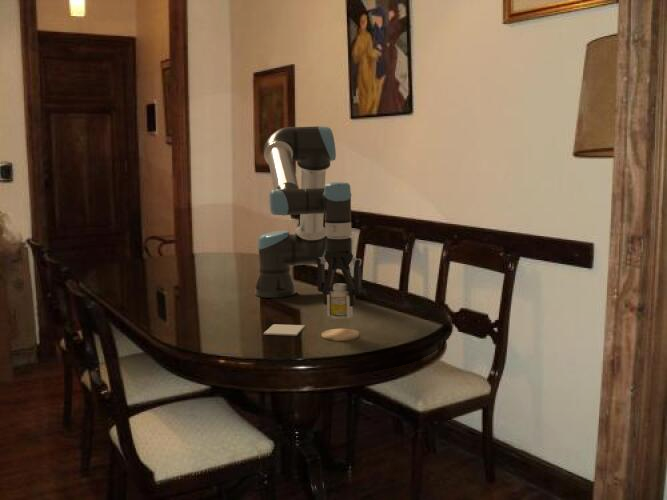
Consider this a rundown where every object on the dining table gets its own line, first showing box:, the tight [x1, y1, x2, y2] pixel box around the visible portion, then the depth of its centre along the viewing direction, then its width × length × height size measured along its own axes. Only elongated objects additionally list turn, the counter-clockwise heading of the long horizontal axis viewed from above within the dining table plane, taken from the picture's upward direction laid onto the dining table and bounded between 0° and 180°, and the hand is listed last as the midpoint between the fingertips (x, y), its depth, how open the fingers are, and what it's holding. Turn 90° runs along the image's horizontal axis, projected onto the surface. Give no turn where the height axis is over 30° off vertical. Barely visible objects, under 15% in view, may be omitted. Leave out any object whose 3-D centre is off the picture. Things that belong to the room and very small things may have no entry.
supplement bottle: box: [330, 282, 349, 320], centre depth 200 cm, size 5×5×10 cm
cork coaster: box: [321, 328, 360, 342], centre depth 202 cm, size 11×11×1 cm
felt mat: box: [263, 323, 306, 337], centre depth 208 cm, size 10×10×1 cm
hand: (340, 316), depth 201 cm, fingers closed on supplement bottle, 5 cm apart
